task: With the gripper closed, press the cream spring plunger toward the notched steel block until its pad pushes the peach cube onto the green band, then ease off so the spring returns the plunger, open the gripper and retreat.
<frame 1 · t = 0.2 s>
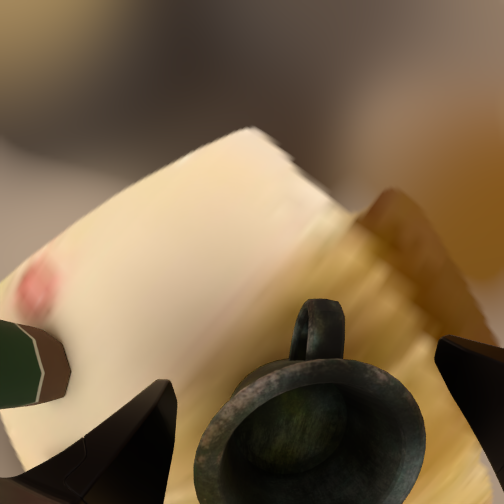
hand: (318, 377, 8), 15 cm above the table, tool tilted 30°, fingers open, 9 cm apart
beer bottle: (46, 366, 21), on the table
mug: (290, 399, 21), on the table
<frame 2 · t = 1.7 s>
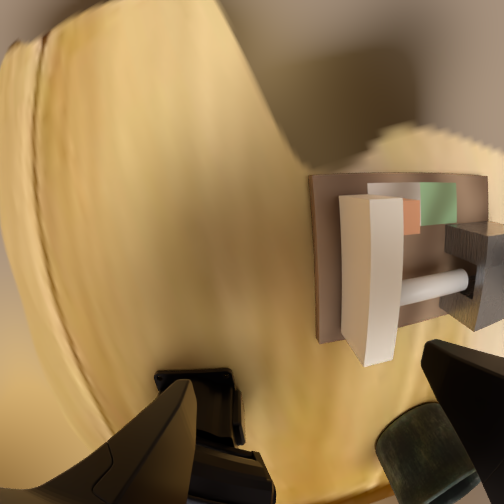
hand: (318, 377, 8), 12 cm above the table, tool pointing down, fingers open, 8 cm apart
notched steel block: (459, 260, 20), resting on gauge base
peach cube: (394, 215, 16), point 3 cm above the table, slide at 0.0 cm
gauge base: (414, 250, 20), on the table
mug: (416, 430, 25), on the table
plunger: (415, 269, 16), point 4 cm above the table, slide at 0.0 cm
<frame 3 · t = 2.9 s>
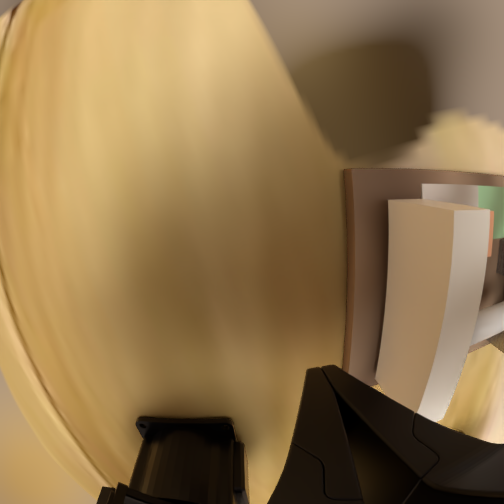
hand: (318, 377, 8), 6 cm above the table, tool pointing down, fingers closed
peach cube: (459, 229, 10), point 3 cm above the table, slide at 0.0 cm
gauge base: (464, 270, 14), on the table
plunger: (477, 302, 10), point 4 cm above the table, slide at 0.0 cm
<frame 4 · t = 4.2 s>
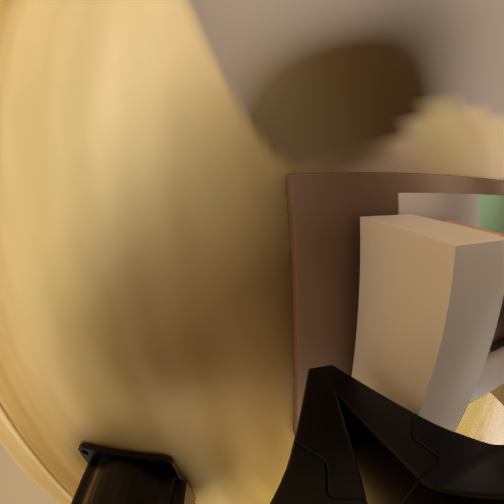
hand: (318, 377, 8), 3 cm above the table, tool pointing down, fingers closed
peach cube: (454, 258, 7), point 3 cm above the table, slide at 0.3 cm, touching plunger
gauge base: (457, 302, 11), on the table
plunger: (477, 351, 7), point 4 cm above the table, slide at 0.6 cm, touching gripper, peach cube
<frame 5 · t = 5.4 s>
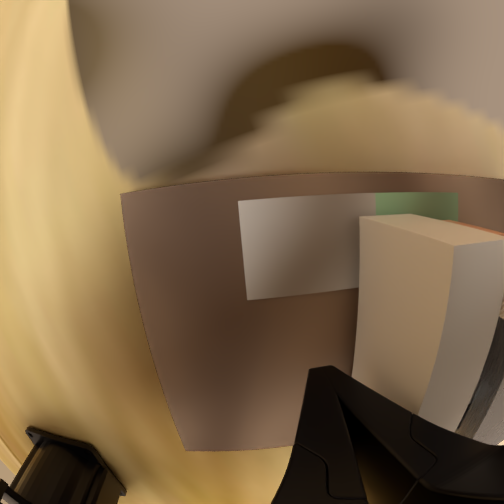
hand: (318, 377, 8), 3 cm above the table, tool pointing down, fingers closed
notched steel block: (453, 328, 11), resting on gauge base
peach cube: (454, 258, 7), point 3 cm above the table, slide at 5.7 cm, touching plunger
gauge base: (364, 323, 11), on the table
plunger: (478, 351, 7), point 4 cm above the table, slide at 6.0 cm, touching gripper, peach cube
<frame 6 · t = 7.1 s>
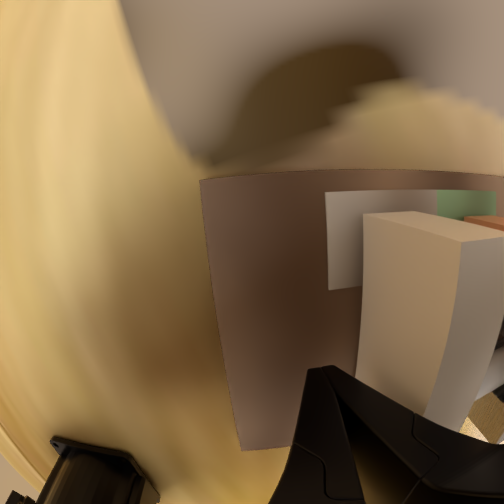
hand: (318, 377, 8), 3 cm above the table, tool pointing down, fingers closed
notched steel block: (486, 315, 11), resting on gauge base
peach cube: (502, 247, 7), point 3 cm above the table, slide at 5.8 cm
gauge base: (418, 310, 11), on the table
plunger: (481, 349, 7), point 4 cm above the table, slide at 3.4 cm, touching gripper
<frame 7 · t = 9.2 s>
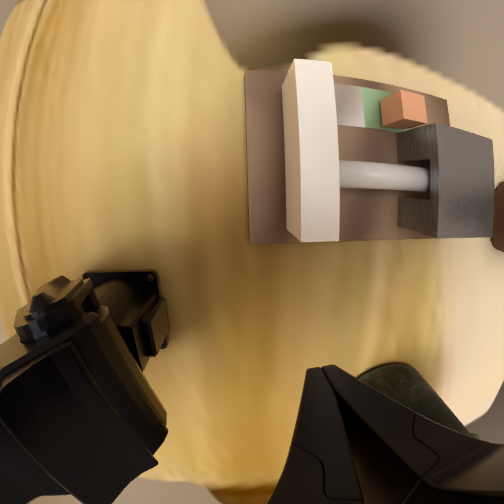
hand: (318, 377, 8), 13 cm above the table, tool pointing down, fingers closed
notched steel block: (420, 181, 20), resting on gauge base
peach cube: (402, 111, 15), point 3 cm above the table, slide at 5.8 cm
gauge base: (362, 157, 19), on the table
beer bottle: (502, 216, 21), on the table
mug: (385, 402, 25), on the table
plunger: (364, 154, 15), point 4 cm above the table, slide at 0.9 cm
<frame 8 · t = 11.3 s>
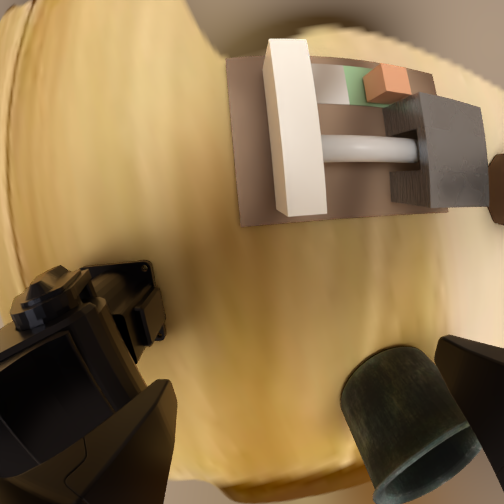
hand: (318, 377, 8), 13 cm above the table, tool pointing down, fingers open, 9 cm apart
notched steel block: (412, 156, 19), resting on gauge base
peach cube: (386, 85, 15), point 3 cm above the table, slide at 5.8 cm
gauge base: (350, 135, 19), on the table
beer bottle: (500, 189, 20), on the table
mug: (393, 388, 24), on the table
plunger: (348, 127, 15), point 4 cm above the table, slide at 0.9 cm
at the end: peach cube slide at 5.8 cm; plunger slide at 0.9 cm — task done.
